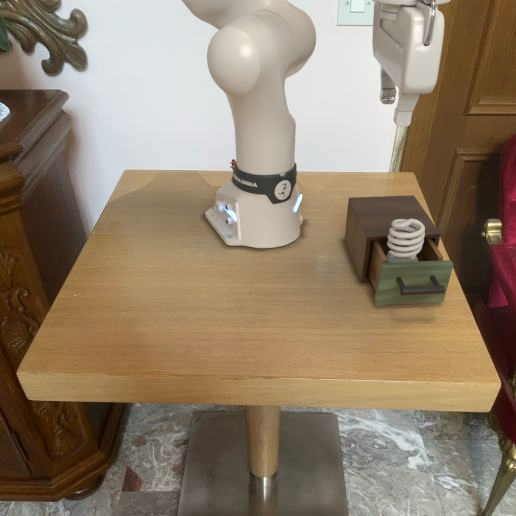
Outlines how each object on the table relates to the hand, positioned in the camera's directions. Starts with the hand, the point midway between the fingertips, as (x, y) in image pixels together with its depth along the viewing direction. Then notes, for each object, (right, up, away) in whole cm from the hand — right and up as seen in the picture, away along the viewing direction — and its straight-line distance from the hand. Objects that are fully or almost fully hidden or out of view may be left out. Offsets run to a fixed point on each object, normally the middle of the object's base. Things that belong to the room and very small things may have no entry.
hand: (393, 113), depth 67 cm
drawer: (+7, -20, +24) cm, 32 cm away
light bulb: (+6, -20, +22) cm, 30 cm away
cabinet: (+7, -13, +33) cm, 36 cm away
